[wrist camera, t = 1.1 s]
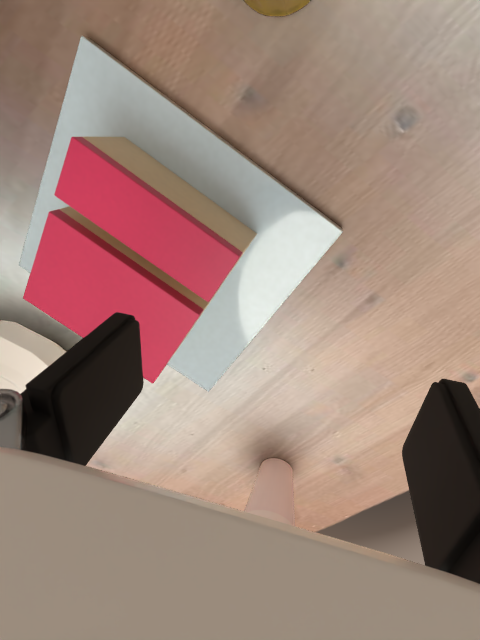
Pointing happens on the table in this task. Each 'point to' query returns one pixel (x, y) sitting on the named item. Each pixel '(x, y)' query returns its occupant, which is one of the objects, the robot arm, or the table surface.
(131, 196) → the cake slice
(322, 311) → the table surface
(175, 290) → the cake
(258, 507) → the smoothie
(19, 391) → the candle holder
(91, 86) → the cake plate
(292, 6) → the vase
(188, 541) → the robot arm
